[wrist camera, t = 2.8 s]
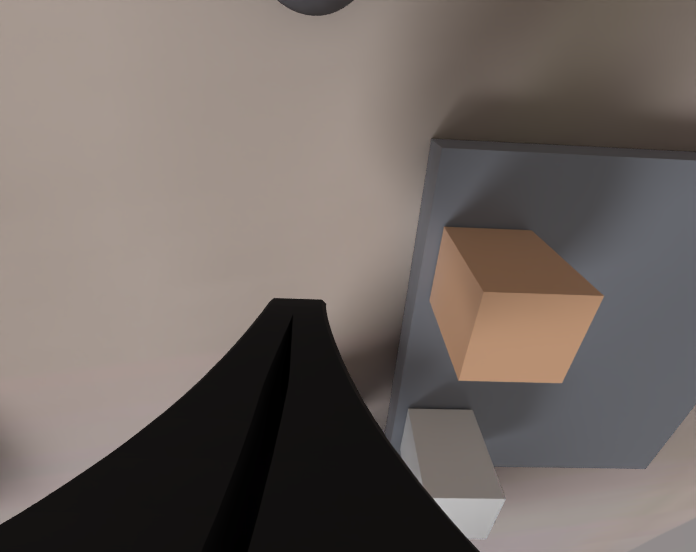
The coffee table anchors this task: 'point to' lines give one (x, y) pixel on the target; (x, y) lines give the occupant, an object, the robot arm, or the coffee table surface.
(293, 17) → the coffee table surface
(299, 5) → the post
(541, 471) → the coffee table surface
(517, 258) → the tan wooden cube
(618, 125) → the coffee table surface
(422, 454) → the plain white brick
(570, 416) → the flat gray rectangular panel
